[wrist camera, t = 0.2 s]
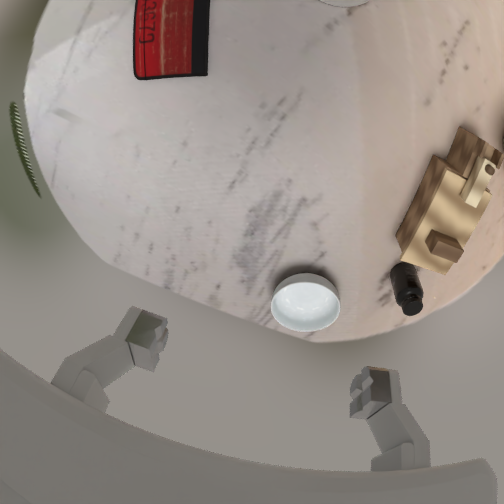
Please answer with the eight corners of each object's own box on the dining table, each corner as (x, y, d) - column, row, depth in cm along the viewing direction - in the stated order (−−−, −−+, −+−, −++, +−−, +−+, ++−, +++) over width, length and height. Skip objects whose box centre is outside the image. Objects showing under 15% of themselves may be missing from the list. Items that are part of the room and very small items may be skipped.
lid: (442, 165, 42) (456, 178, 37) (487, 190, 41) (502, 204, 36) (398, 253, 54) (404, 273, 49) (442, 268, 54) (450, 287, 49)
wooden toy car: (478, 154, 36) (488, 161, 33) (489, 160, 36) (499, 168, 33) (459, 196, 42) (467, 205, 39) (470, 201, 41) (478, 211, 39)
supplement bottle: (384, 272, 65) (392, 309, 55) (406, 256, 61) (418, 292, 51) (398, 287, 66) (407, 323, 57) (419, 272, 63) (432, 308, 53)
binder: (208, -23, 32) (204, 76, 45) (213, -21, 34) (209, 76, 47) (133, -8, 35) (132, 82, 47) (139, -7, 36) (138, 80, 49)
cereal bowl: (341, 309, 74) (342, 330, 69) (280, 313, 79) (277, 333, 74) (336, 259, 65) (338, 279, 60) (267, 266, 70) (262, 286, 64)
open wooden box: (446, 119, 41) (472, 133, 33) (488, 144, 41) (515, 163, 32) (395, 235, 58) (406, 265, 50) (436, 249, 58) (450, 279, 50)
